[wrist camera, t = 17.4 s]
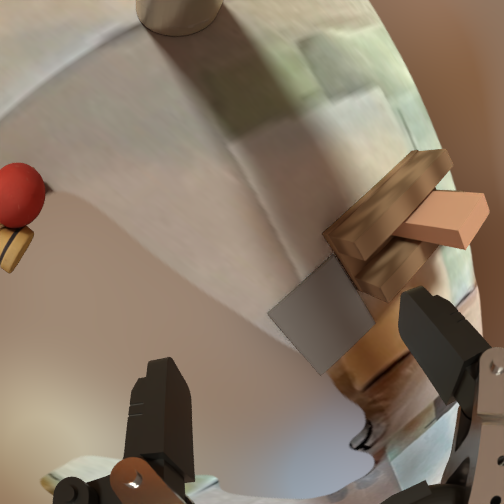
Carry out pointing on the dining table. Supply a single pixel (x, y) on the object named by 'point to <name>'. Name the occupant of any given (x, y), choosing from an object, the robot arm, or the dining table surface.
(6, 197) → the kendama
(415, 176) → the rack
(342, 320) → the mat
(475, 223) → the block
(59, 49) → the dining table surface
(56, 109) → the dining table surface
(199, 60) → the dining table surface
